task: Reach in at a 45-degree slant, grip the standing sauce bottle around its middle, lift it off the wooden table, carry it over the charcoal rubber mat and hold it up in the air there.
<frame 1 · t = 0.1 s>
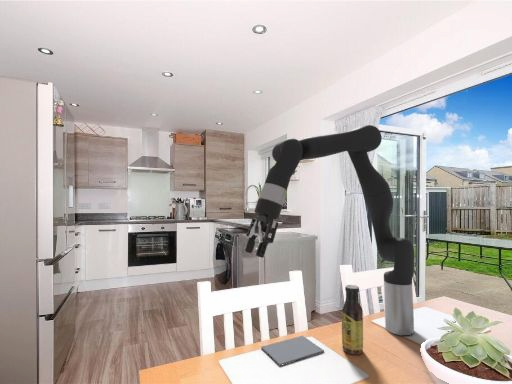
hand: (253, 254, 79), 31 cm above the table, tool tilted 20°, fingers open, 8 cm apart
sauce bottle: (352, 351, 86), on the table
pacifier: (456, 332, 98), on the table
charcoal mat: (292, 350, 86), on the table
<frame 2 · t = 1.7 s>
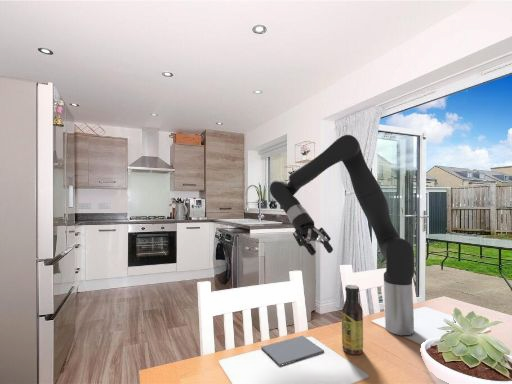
hand: (322, 252, 97), 29 cm above the table, tool tilted 45°, fingers open, 8 cm apart
nothing on the table moved.
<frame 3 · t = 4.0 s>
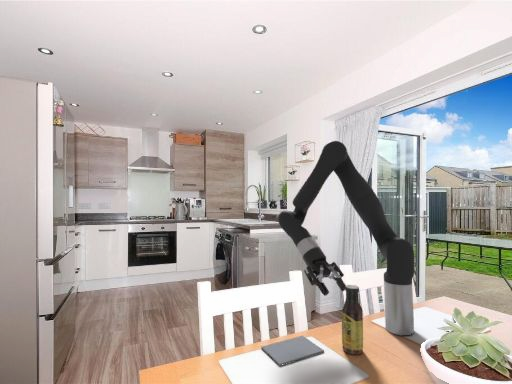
hand: (336, 292, 92), 16 cm above the table, tool tilted 45°, fingers open, 8 cm apart
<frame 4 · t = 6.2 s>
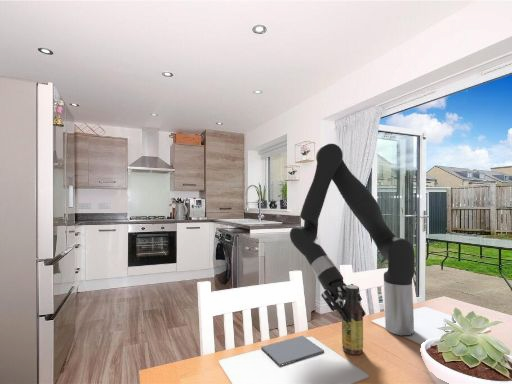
hand: (356, 318, 85), 10 cm above the table, tool tilted 45°, fingers closed on sauce bottle, 6 cm apart
sauce bottle: (352, 351, 85), on the table, touching gripper
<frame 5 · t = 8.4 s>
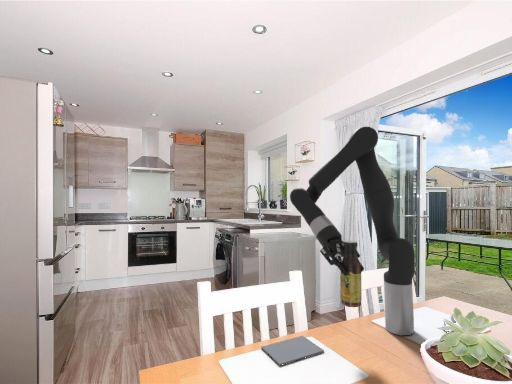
hand: (354, 272, 86), 24 cm above the table, tool tilted 45°, fingers closed on sauce bottle, 6 cm apart
sauce bottle: (351, 305, 86), point 14 cm above the table, touching gripper
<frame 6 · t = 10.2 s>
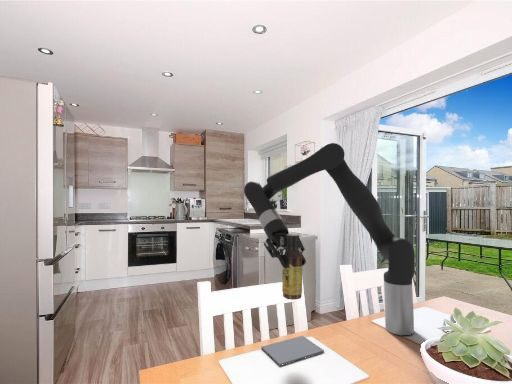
hand: (295, 265, 86), 27 cm above the table, tool tilted 45°, fingers closed on sauce bottle, 6 cm apart
sauce bottle: (292, 298, 87), point 16 cm above the table, touching gripper
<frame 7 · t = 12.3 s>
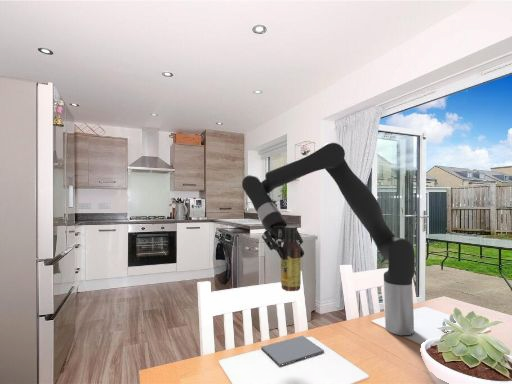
hand: (294, 257, 86), 29 cm above the table, tool tilted 45°, fingers closed on sauce bottle, 6 cm apart
sauce bottle: (291, 290, 87), point 19 cm above the table, touching gripper
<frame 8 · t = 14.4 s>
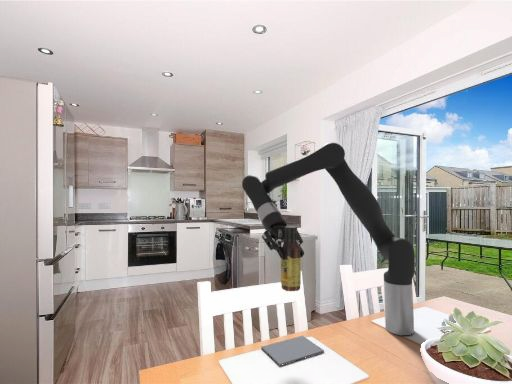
hand: (294, 257, 86), 29 cm above the table, tool tilted 45°, fingers closed on sauce bottle, 6 cm apart
sauce bottle: (291, 290, 87), point 19 cm above the table, touching gripper
at the end: the gripper is holding sauce bottle; sauce bottle point 18.5 cm above the table; sauce bottle inside the target area (0.2 cm from its centre), point 18.5 cm above the table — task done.
